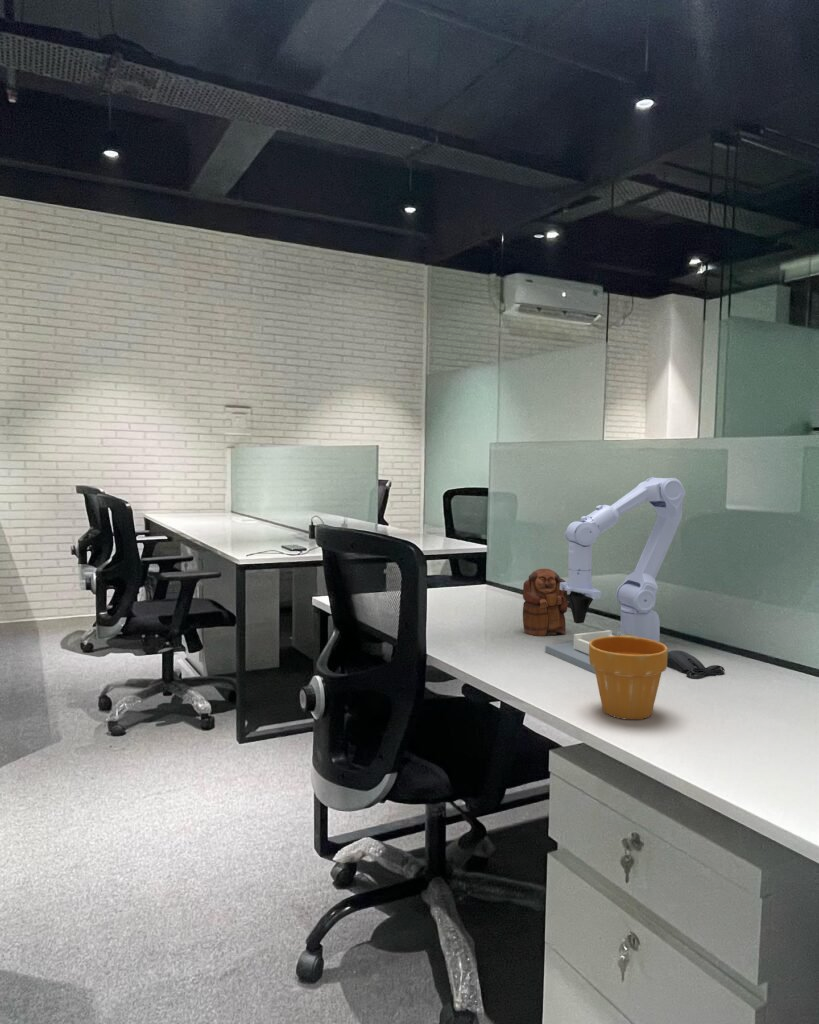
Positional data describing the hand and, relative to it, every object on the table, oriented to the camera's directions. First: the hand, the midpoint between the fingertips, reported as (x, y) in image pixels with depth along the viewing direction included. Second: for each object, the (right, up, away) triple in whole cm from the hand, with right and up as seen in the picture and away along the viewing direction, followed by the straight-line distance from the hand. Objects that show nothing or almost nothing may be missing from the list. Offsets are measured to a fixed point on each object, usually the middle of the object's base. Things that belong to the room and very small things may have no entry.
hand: (579, 622), depth 181 cm
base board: (+3, -8, -10) cm, 13 cm away
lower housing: (+4, -5, -9) cm, 11 cm away
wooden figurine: (-5, -6, +17) cm, 19 cm away
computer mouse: (+21, -9, -17) cm, 28 cm away
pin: (+7, -6, -17) cm, 19 cm away
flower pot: (-2, -10, -45) cm, 46 cm away
